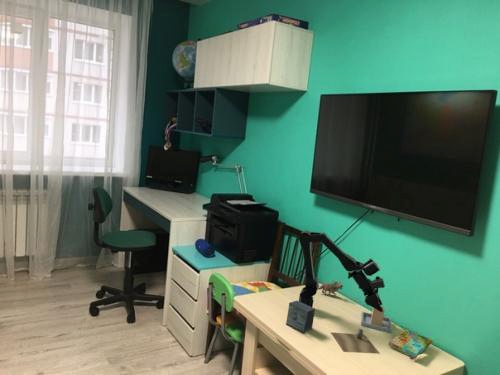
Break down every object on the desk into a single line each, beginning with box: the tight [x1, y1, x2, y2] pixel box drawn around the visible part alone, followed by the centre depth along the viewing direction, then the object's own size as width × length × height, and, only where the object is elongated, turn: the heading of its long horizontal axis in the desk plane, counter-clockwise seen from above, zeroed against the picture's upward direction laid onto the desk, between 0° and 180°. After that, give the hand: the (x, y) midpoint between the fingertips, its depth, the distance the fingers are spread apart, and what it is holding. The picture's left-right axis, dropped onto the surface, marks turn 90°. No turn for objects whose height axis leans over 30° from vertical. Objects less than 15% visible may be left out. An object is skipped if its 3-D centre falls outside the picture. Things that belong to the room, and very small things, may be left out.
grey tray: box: [360, 311, 393, 334], centre depth 198 cm, size 14×14×2 cm
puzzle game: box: [388, 329, 433, 361], centre depth 179 cm, size 12×5×20 cm
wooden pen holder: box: [371, 305, 385, 327], centre depth 197 cm, size 7×5×8 cm
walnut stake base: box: [330, 328, 381, 355], centre depth 175 cm, size 16×16×5 cm
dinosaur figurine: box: [318, 280, 344, 298], centre depth 230 cm, size 14×6×9 cm, turn 75°
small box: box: [285, 300, 316, 335], centre depth 184 cm, size 11×6×10 cm, turn 47°
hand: (381, 308), depth 197 cm, fingers open, 9 cm apart
